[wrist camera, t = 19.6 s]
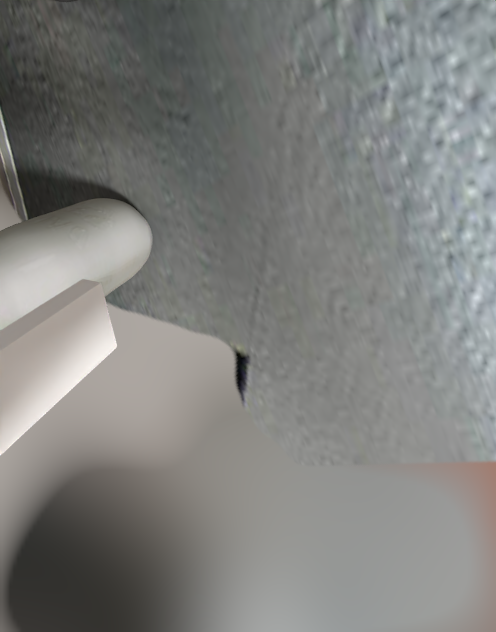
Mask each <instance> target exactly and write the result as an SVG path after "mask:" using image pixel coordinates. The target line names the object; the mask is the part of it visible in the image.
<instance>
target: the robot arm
mask: <svg viewBox="0 0 496 632" xmlns="http://www.w3.org/2000/svg"><path fill="white" fill-rule="evenodd" d="M57 1H63V2H71V1H76V0H57ZM116 347H117V345H116V340H115V336H114V332H113V328H112V325H111V321H110V316H109V312H108V309H107V304H106V300H105V296H104V292H103V288H102V284H101V282H96V281H91V280H86V279H82V280H80V281H78V282H77V283H75V284H74V285H72V286H71V287H69V288H67V289H66V290H64V291H63V292H61V293H59V294H58V295H56V296H55V297H53V298H51V299H50V300H48V301H47V302H45V303H43V304H42V305H40V306H39V307H37V308H35V309H34V310H32V311H31V312H29V313H28V314H26V315H24V316H23V317H21V318H20V319H18V320H16V321H15V322H13V323H12V324H10V325H8V326H7V327H5V328H4V329H2V330H0V455H1V454H2V453H3V452H5V451H6V450H7V449H8V448H9V447H10V446H11V445H12V444H13V443H14V442H15V441H16V440H18V438H20V437H21V436H22V435H23V434H24V433H25V432H26V431H27V430H28V429H29V428H30V427H31V426H33V425H34V423H36V422H37V421H38V420H39V419H40V418H41V417H42V416H43V415H44V414H45V413H47V412H48V411H49V410H50V409H51V408H52V407H53V406H54V405H55V404H56V403H57V402H58V401H59V400H60V399H62V398H63V397H64V396H65V395H66V394H67V393H68V392H69V391H70V390H71V389H72V388H73V387H74V386H76V385H77V384H78V383H79V382H80V381H81V380H82V379H83V378H84V377H85V376H86V375H87V374H88V373H89V372H91V371H92V370H93V369H94V368H95V367H96V366H97V365H98V364H99V363H100V362H101V361H102V360H103V359H105V358H106V357H107V356H108V355H109V354H110V353H111V352H112V351H113V350H114V349H115V348H116Z"/></svg>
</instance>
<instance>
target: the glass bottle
mask: <svg viewBox="0 0 496 632" xmlns="http://www.w3.org/2000/svg"><path fill="white" fill-rule="evenodd" d="M152 241H153V238H152V232H151V229H150V226H149V224H148V222H147V221H146V219H145V218H144V217H143V216H142V215H141V214H140V213H139V212H138V211H137V210H136V209H135V208H133V207H132V206H131V205H129V204H127V203H125V202H122V201H119V200H115V199H109V198H97V199H90V200H86V201H83V202H79V203H77V204H74V205H71V206H68V207H65V208H62V209H59V210H57V211H54V212H51V213H48V214H44V215H41V216H38V217H35V218H32V219H29V220H26V221H24V222H21V223H18V224H15V225H13V226H10V227H8V228H5V229H4V230H1V231H0V330H2V329H4V328H5V327H7V326H8V325H10V324H12V323H13V322H15V321H16V320H18V319H20V318H21V317H23V316H24V315H26V314H28V313H29V312H31V311H32V310H34V309H35V308H37V307H39V306H40V305H42V304H43V303H45V302H47V301H48V300H50V299H51V298H53V297H55V296H56V295H58V294H59V293H61V292H63V291H64V290H66V289H67V288H69V287H71V286H72V285H74V284H75V283H77V282H78V281H80V280H82V279H86V280H91V281H96V282H101V284H102V288H103V292H104V296H106V295H108V294H109V293H110V292H112V291H113V290H114V289H116V288H117V287H119V286H120V285H122V284H123V283H125V282H126V281H127V280H129V279H130V278H131V277H133V276H134V275H135V274H136V273H137V272H138V271H139V270H140V269H141V268H142V266H143V265H144V264H145V262H146V261H147V259H148V257H149V255H150V253H151V247H152Z"/></svg>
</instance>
